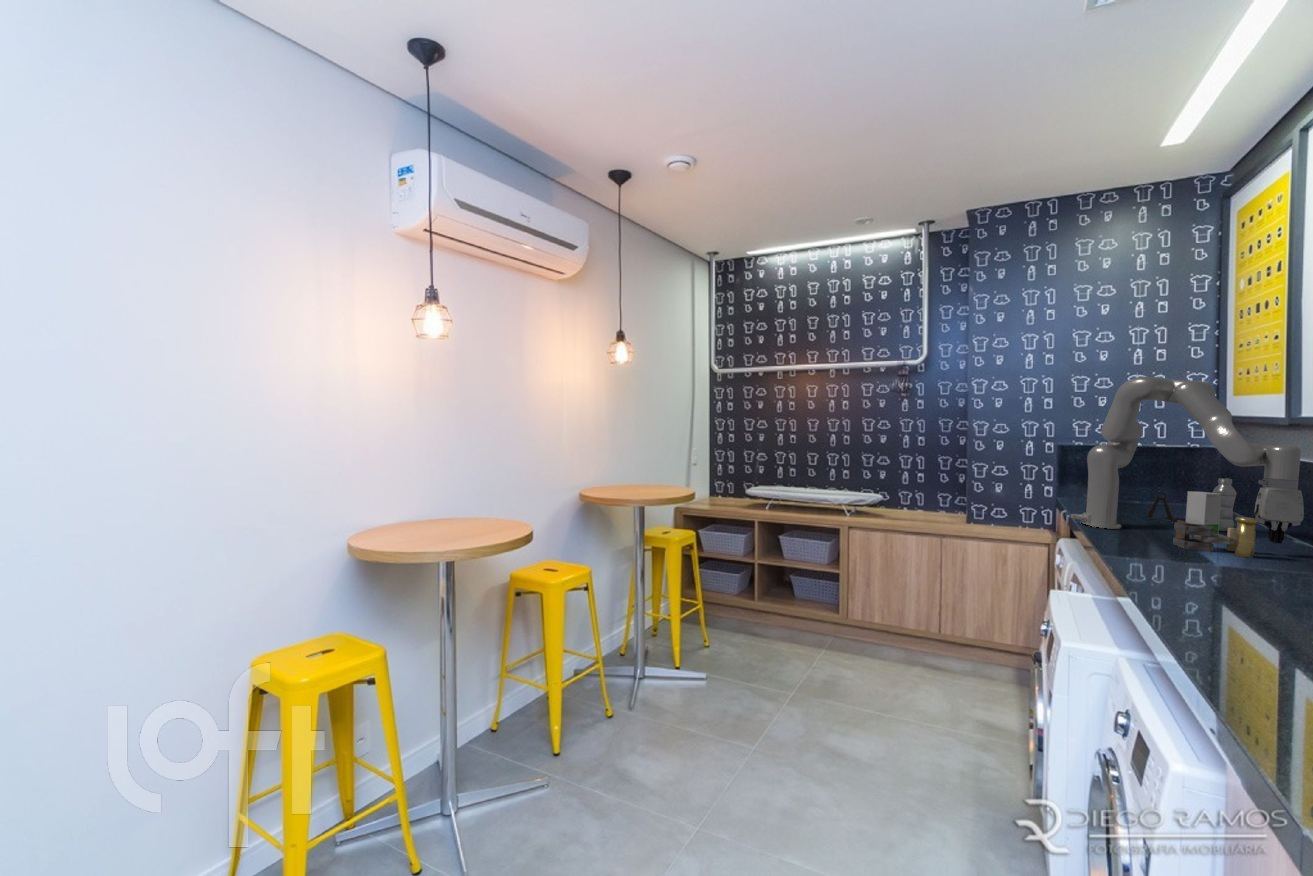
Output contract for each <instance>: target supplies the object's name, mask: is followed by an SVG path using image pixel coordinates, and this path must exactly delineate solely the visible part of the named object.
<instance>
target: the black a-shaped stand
mask: <svg viewBox="0 0 1313 876" xmlns="http://www.w3.org/2000/svg"><path fill="white" fill-rule="evenodd" d="M1161 492H1162V494H1164V496H1160V495H1159V494H1160V493H1161ZM1167 494H1168V493H1167V492H1166V491H1165V490H1163V491H1162V490H1158V491H1157V493H1156V498H1155V501H1154V503H1153V504H1152V505H1151V507H1150V509H1149V511H1148V513H1147V515H1146V517H1149V518H1152V517H1154V516H1153V515H1154V513H1155V510H1156V508H1157V506H1158V504H1159V502H1160V501H1163V505H1164V509H1165V514H1166V517H1167V518H1165V517H1160V518H1161V519H1162V518H1163V519H1167V520H1171V521H1174V522H1175V517H1174V515H1173V512H1172V510H1171V508H1170V504H1169V502H1168V500H1167ZM1146 517H1145V518H1146Z"/></svg>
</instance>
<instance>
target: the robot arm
mask: <svg viewBox="0 0 1313 876" xmlns="http://www.w3.org/2000/svg"><path fill="white" fill-rule="evenodd" d="M1143 401H1152V402H1153V401H1154V402H1155V401H1156V402H1166V403H1173V404H1180V406H1181V407H1182V408H1183V409H1184V410H1186V412H1187V413H1188V414H1189V415H1190V416H1191V417H1192V418H1193V419H1194V420H1195V422H1197V423H1198V424H1199V426H1200V427H1201V428H1202V430H1203V431H1204V434H1205V435H1206V437H1207V438H1208V440H1209V441H1210V443H1211V444H1212V445H1213V447H1215V449H1216V450H1217V451H1218V452H1219V454H1221V455H1222V456H1223V457H1224V459H1226V461H1228V462H1229V463H1231V464H1233V465H1234V466H1237V467H1241V468H1242V467H1261V466H1262V467H1264V471H1263V478H1262V479H1259V480H1258V481H1257V482H1258V483H1257V484H1258V485H1261V486H1262V487H1260V488H1259V491H1258V492H1257V496H1256V500H1255V507H1254V516H1255V519H1258V523H1259V524H1262V525H1264V526H1265V527H1266V528H1267V529H1268V534H1267V535H1268V537H1267V539H1268V540H1269V542H1271V543H1274V544H1280V545H1281V544H1282V543H1283V541H1284V539H1285V538H1284V537H1285V532H1287V530H1288V529H1289V528H1291V527H1295V526H1296V527H1297V526H1298V527H1299V526H1301V523H1302V522H1303V521H1304V516H1305V513H1304V512H1305V510H1304V509H1305V507H1304V497H1303V493H1302V490H1299V480H1300V479H1299V478H1300V477H1299V476H1300V465H1301V455H1302V452H1301V449H1300V448H1299V447H1298V446H1295V445H1281V444H1280V445H1279V444H1277V445H1275V444H1274V445H1273V444H1271V445H1269V444H1262V443H1255V442H1254V443H1253V442H1249V441H1247V439H1245V437H1243V435H1242V434H1241V433H1240V432H1239V431H1238V430H1237V428H1236V427H1235V426H1234V423H1233V415H1232V413H1231V411H1230V410H1229V409H1228V408H1227V407H1226V406H1225V405H1224V404H1223V403H1222V402H1221V401H1220V400H1219V399H1218V398H1217V397H1216V391H1215V388H1214V387H1213V386H1212V385H1211V384H1210V383H1209V382H1206V381H1201V380H1200V381H1199V380H1187V379H1186V380H1184V379H1183V380H1182V379H1175V378H1164V377H1157V376H1139V377H1134V378H1132V379H1129V380H1127V381H1125V382H1124V383H1122V384H1121V385H1120V386H1119V388H1118V389H1117V390H1116V393H1115V395H1114V398H1113V400H1112V403H1111V405H1110V408H1109V410H1108V412H1107V415H1106V417H1105V420H1104V422H1103V424H1102V427H1101V432H1100V433H1101V436H1102V438H1103V439H1104V440H1105V441H1107V443H1103V444H1098V445H1095V446H1093V447H1092V448H1090V450H1089V451H1088V453H1087V457H1086V463H1087V471H1088V473H1087V474H1088V477H1087V493H1086V494H1087V495H1086V512H1083V513H1080V514H1078V513H1071V514H1070V518H1071V519H1072V520H1080V523H1081V522H1082V523H1083V524H1086V525H1090V526H1092V527H1091V528H1096V527H1099V528H1098V529H1104V528H1107V530H1120V529H1122V524H1119V523H1117V517H1118V504H1119V502H1118V501H1119V491H1120V487H1119V485H1120V475H1119V470H1118V469H1121V468H1122V469H1123V468H1124V467H1126V466H1128V465H1129V464H1130V463H1131V461H1132V459H1133V457H1134V455H1135V452H1136V450H1137V447H1138V445H1139V443H1140V441H1141V437H1142V435H1143V428H1142V425H1141V423H1140V422H1139V421H1138V420H1137V417H1138V414H1139V412H1140V408H1141V403H1142V402H1143ZM1258 523H1257V524H1258ZM1090 526H1089V527H1090Z"/></svg>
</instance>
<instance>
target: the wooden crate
mask: <svg viewBox="0 0 1313 876" xmlns="http://www.w3.org/2000/svg"><path fill="white" fill-rule="evenodd" d="M1226 532H1227V533H1226V535H1224V534H1221V533H1219V534H1214V536H1202V535H1191V537H1192V538H1191V539H1196V540H1199V541H1201V542H1205V543H1212V544H1219V545H1226V547H1225V551H1226V550H1227V552H1229V551H1230V552H1235V547H1236V535H1237V527H1236V528H1235V527H1233V528H1228V531H1226ZM1256 534H1257V531H1256V530H1255V538H1254V550H1253V554H1255V548H1256V537H1257V536H1256Z"/></svg>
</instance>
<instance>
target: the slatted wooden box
mask: <svg viewBox="0 0 1313 876" xmlns="http://www.w3.org/2000/svg"><path fill="white" fill-rule="evenodd" d="M1173 523H1174V524H1173V526H1174V527H1173V530H1174V531H1175V532H1176V533H1175V537H1174V536H1173V538H1172V539H1173V540H1172V545H1173V544H1174V545H1173V546H1175V545H1177V546H1178V547H1177V546H1176V547H1177V548H1180V547H1181V548H1180V549H1182V548H1183V550H1185V549H1186V551H1187V550H1188V551H1197V550H1199V551H1200V552H1208V551H1210V553H1212V552H1214V544H1215V543H1205V542H1201V541H1199V540H1196V539H1194V538H1190V536H1192V535H1202V536H1214V532H1215V529H1214V528H1211V527H1208V526H1206V525H1203V524H1190V523H1188V522H1186V520H1185V521H1184V520H1182V519H1177V520H1176V521H1174V522H1173ZM1199 551H1198V552H1199Z"/></svg>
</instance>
